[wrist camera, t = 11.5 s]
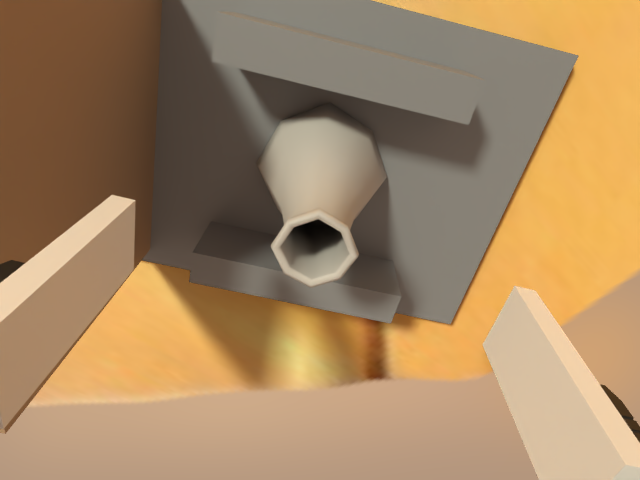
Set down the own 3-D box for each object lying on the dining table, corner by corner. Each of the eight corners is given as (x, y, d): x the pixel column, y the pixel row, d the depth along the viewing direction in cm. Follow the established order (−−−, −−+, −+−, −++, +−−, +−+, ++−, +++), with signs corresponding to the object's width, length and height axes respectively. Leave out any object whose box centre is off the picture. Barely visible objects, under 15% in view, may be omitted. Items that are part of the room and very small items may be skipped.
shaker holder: (569, 54, 23) (892, 110, 10) (447, 315, 31) (530, 539, 18) (135, -62, 21) (-204, -188, 8) (128, 248, 29) (-41, 442, 16)
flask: (407, 177, 25) (446, 265, 16) (313, 244, 28) (303, 352, 19) (331, 76, 23) (329, 116, 14) (235, 159, 25) (181, 238, 16)
